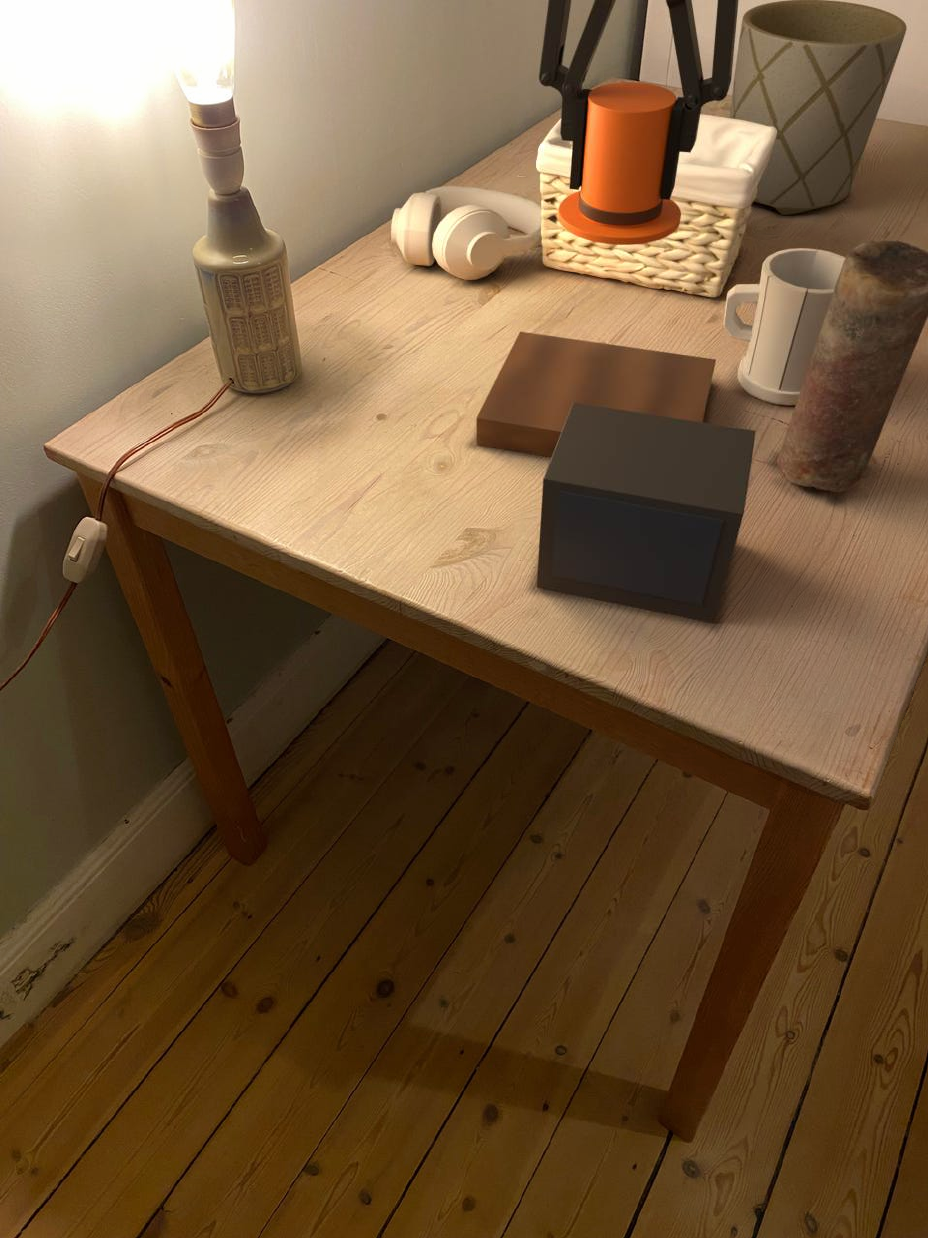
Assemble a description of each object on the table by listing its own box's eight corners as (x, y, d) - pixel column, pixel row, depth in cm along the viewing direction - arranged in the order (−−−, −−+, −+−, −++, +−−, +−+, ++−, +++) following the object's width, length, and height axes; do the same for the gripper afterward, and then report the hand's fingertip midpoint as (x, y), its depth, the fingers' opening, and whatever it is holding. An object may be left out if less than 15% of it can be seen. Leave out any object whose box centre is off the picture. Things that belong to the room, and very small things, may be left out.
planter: (683, 182, 126) (709, 15, 112) (780, 152, 133) (817, -9, 119) (786, 232, 115) (831, 54, 101) (886, 196, 123) (941, 24, 108)
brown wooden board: (710, 385, 92) (716, 359, 90) (689, 480, 82) (695, 453, 80) (519, 356, 96) (520, 331, 94) (476, 444, 86) (476, 417, 84)
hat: (687, 199, 77) (707, 80, 71) (670, 251, 71) (690, 125, 64) (572, 187, 79) (580, 70, 73) (545, 236, 73) (552, 113, 66)
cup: (746, 417, 88) (776, 301, 80) (705, 368, 94) (728, 255, 86) (843, 399, 90) (882, 284, 81) (796, 352, 96) (828, 240, 87)
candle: (868, 462, 83) (951, 248, 69) (856, 510, 79) (942, 291, 64) (784, 442, 85) (847, 230, 71) (767, 487, 81) (830, 271, 66)
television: (727, 539, 76) (755, 430, 68) (713, 625, 70) (743, 515, 62) (563, 509, 79) (573, 401, 71) (535, 589, 73) (542, 479, 65)
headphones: (489, 300, 103) (569, 255, 117) (495, 228, 98) (578, 190, 112) (359, 261, 110) (449, 223, 123) (359, 192, 105) (452, 160, 118)
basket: (754, 248, 113) (783, 119, 102) (728, 310, 102) (757, 174, 92) (569, 219, 119) (577, 94, 108) (527, 274, 109) (532, 143, 98)
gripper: (829, -199, 57) (749, 181, 74) (526, -204, 61) (516, 157, 78) (825, -183, 52) (741, 220, 69) (496, -190, 56) (492, 193, 73)
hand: (622, 186), depth 73 cm, fingers closed on hat, 7 cm apart
